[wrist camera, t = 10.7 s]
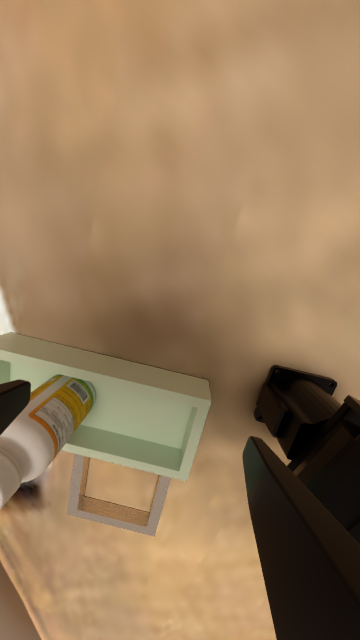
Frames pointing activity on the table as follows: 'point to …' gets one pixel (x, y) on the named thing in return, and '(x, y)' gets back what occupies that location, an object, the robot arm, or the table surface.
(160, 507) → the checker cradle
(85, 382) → the supplement bottle
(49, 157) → the table surface
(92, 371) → the trough
